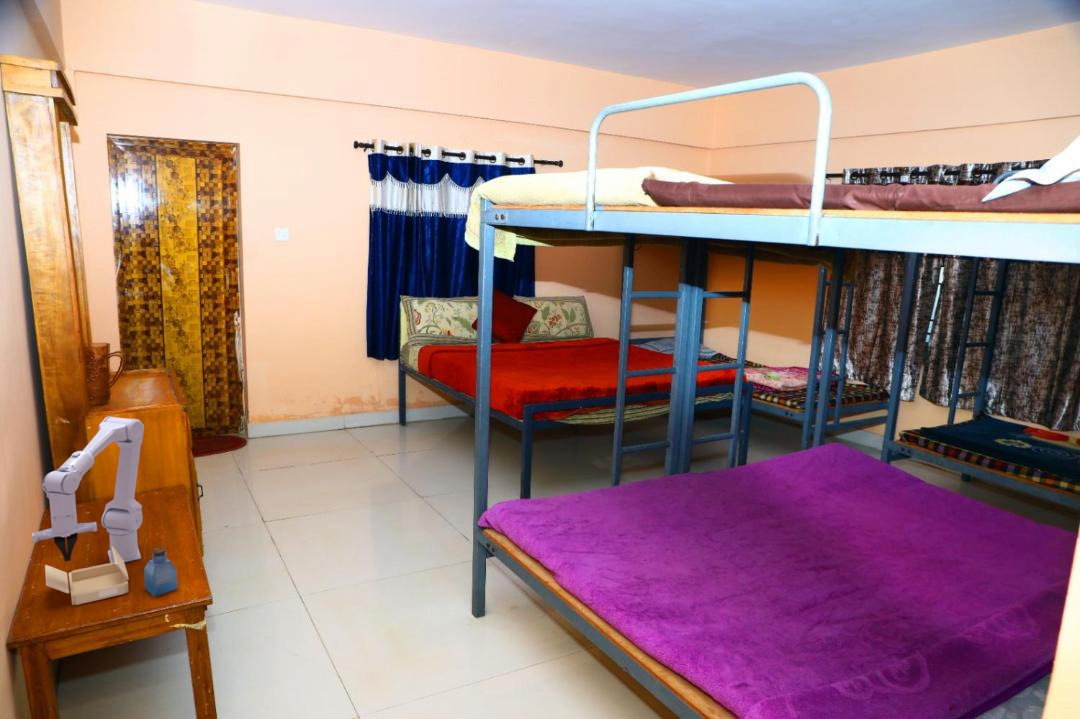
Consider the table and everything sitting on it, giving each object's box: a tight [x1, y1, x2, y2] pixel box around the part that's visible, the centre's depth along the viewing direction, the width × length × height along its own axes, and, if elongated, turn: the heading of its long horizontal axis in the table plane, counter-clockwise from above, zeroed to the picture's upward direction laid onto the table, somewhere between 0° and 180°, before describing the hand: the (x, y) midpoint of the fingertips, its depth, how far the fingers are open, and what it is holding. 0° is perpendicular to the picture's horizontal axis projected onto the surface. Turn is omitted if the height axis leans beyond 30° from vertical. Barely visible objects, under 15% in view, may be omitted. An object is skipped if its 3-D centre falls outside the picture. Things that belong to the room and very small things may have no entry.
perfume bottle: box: [143, 546, 178, 598], centre depth 197 cm, size 6×6×12 cm
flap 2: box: [112, 546, 130, 581], centre depth 198 cm, size 12×1×6 cm, turn 36°
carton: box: [68, 562, 129, 606], centre depth 196 cm, size 15×13×3 cm
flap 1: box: [44, 564, 70, 594], centre depth 190 cm, size 12×1×6 cm
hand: (67, 559), depth 190 cm, fingers closed
